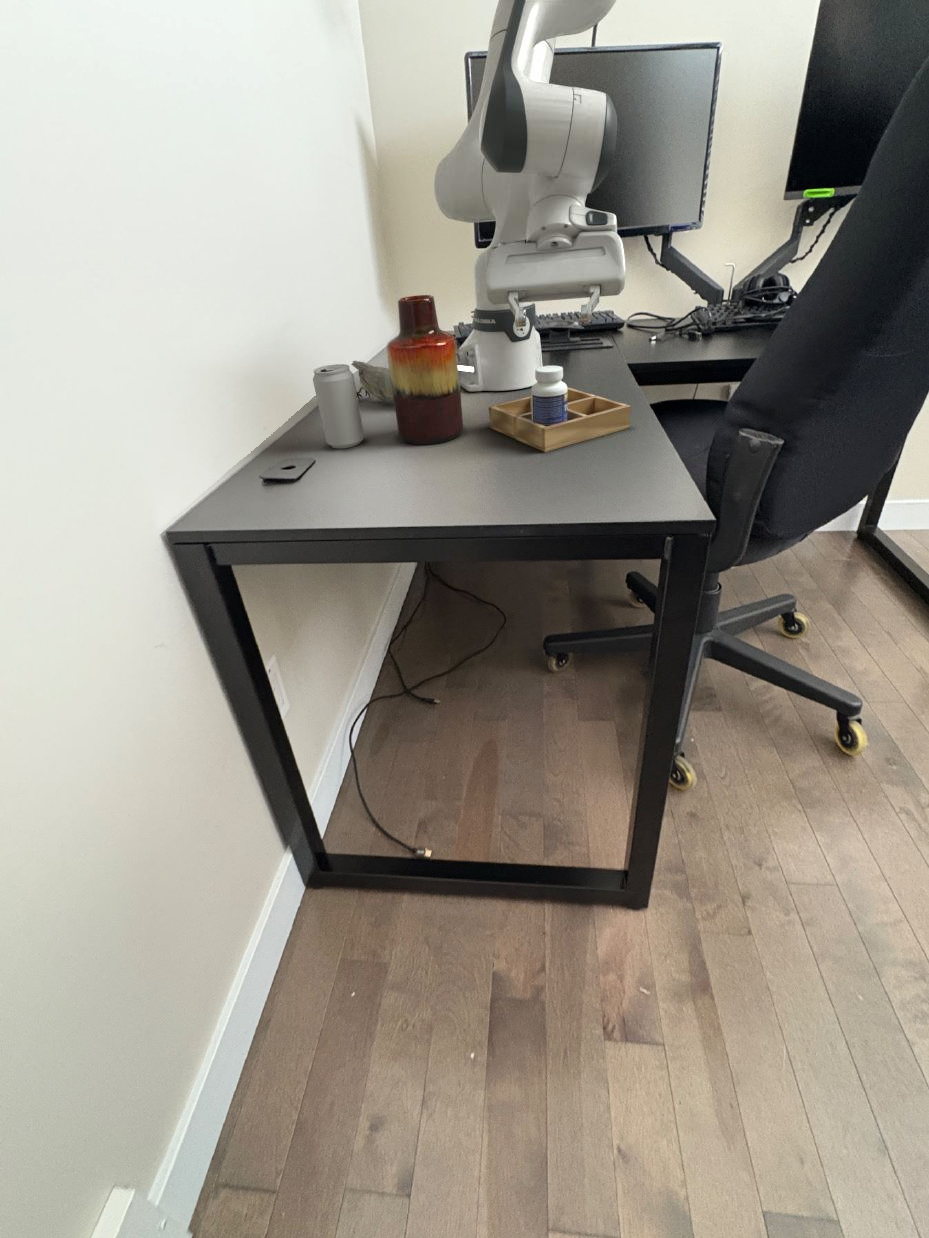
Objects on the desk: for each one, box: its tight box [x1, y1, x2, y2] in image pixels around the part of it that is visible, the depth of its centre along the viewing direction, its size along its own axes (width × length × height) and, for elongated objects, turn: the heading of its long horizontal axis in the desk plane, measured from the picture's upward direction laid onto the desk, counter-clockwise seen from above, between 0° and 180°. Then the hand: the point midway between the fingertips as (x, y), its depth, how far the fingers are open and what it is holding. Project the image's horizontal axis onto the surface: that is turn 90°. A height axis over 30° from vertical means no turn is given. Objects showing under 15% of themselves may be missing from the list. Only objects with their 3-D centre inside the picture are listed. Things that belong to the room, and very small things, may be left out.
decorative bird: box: [351, 360, 394, 404], centre depth 117 cm, size 5×16×7 cm, turn 50°
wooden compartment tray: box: [488, 386, 631, 453], centre depth 96 cm, size 16×16×4 cm
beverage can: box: [312, 363, 365, 449], centre depth 97 cm, size 6×6×12 cm
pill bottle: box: [530, 365, 568, 427], centre depth 90 cm, size 5×5×10 cm
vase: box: [385, 294, 464, 446], centre depth 95 cm, size 11×11×20 cm
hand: (552, 322), depth 87 cm, fingers open, 8 cm apart
